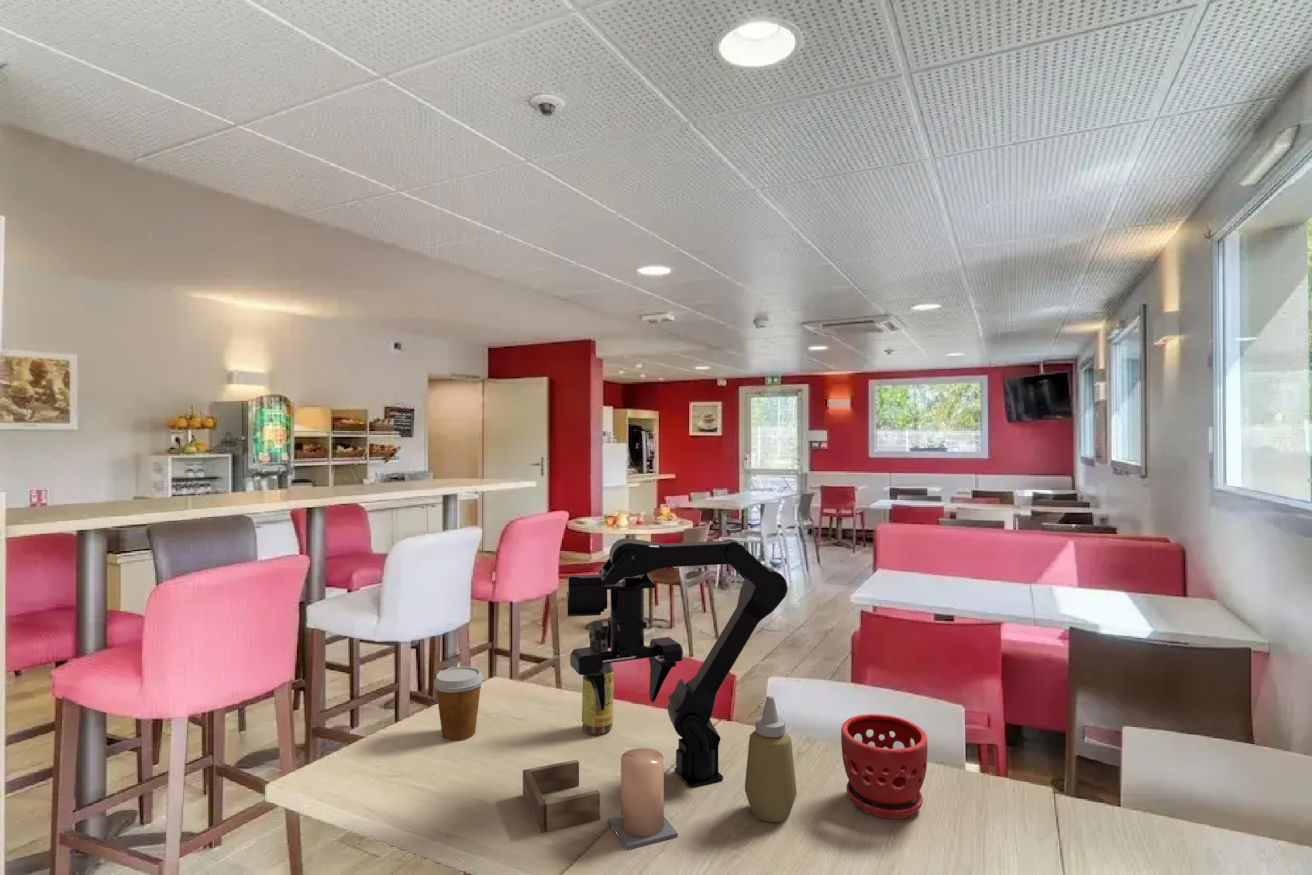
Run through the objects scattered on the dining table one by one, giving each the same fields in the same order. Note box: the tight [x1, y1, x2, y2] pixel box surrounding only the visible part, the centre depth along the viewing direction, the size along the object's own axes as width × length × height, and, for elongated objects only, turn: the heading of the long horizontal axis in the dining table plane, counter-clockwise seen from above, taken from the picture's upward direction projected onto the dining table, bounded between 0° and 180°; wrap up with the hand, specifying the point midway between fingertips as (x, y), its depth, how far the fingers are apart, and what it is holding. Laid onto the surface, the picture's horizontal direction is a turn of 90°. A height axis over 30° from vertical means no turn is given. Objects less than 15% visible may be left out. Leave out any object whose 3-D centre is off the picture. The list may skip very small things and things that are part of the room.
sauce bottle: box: [581, 630, 615, 736], centre depth 137 cm, size 7×6×20 cm
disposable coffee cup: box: [433, 666, 484, 742], centre depth 135 cm, size 10×10×12 cm
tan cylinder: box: [620, 747, 665, 837], centre depth 103 cm, size 8×6×10 cm
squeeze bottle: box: [744, 695, 798, 823], centre depth 107 cm, size 8×8×18 cm
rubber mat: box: [607, 814, 679, 850], centre depth 102 cm, size 8×8×1 cm
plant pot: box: [840, 713, 929, 819], centre depth 109 cm, size 13×13×12 cm
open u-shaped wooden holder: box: [522, 759, 601, 834], centre depth 109 cm, size 9×12×4 cm
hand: (627, 705), depth 116 cm, fingers open, 9 cm apart
